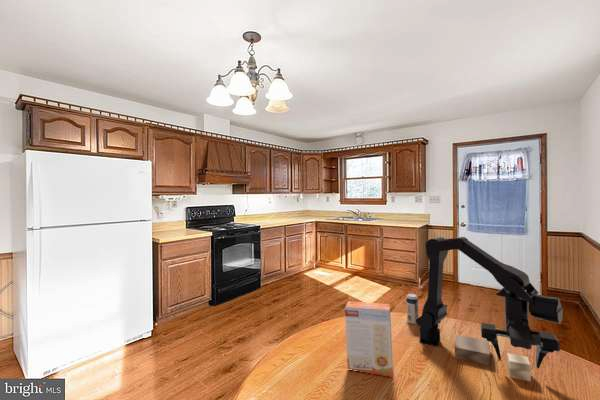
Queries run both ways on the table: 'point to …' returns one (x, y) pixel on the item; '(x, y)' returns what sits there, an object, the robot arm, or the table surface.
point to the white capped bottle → (412, 308)
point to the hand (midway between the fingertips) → (518, 363)
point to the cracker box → (369, 338)
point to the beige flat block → (472, 349)
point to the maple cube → (519, 367)
